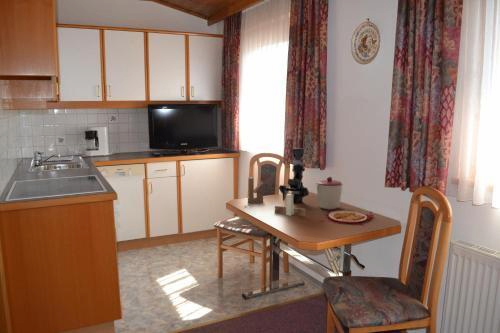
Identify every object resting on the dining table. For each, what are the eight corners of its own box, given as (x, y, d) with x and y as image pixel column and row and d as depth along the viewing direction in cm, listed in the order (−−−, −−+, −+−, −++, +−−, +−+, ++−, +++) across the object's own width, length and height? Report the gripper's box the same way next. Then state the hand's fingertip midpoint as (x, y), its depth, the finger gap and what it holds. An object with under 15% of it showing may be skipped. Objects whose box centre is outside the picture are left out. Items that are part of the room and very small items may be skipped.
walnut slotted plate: (274, 212, 259) (274, 206, 259) (275, 212, 261) (275, 205, 260) (304, 216, 250) (304, 209, 249) (305, 216, 251) (305, 209, 251)
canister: (319, 203, 284) (319, 173, 281) (345, 206, 276) (346, 175, 273) (311, 209, 268) (312, 178, 265) (339, 212, 260) (340, 179, 257)
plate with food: (331, 213, 262) (331, 207, 261) (373, 216, 250) (373, 211, 250) (320, 223, 240) (320, 217, 240) (366, 228, 228) (366, 221, 228)
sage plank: (288, 213, 258) (288, 193, 256) (293, 214, 256) (293, 193, 255) (286, 215, 254) (286, 194, 252) (290, 215, 253) (290, 195, 251)
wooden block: (263, 202, 289) (263, 177, 286) (249, 203, 284) (249, 178, 282) (261, 200, 292) (261, 176, 290) (247, 202, 288) (247, 177, 285)
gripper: (280, 172, 261) (272, 192, 253) (307, 174, 252) (300, 195, 244) (284, 182, 269) (277, 202, 261) (311, 185, 260) (305, 205, 253)
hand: (290, 201), depth 255 cm, fingers open, 9 cm apart
